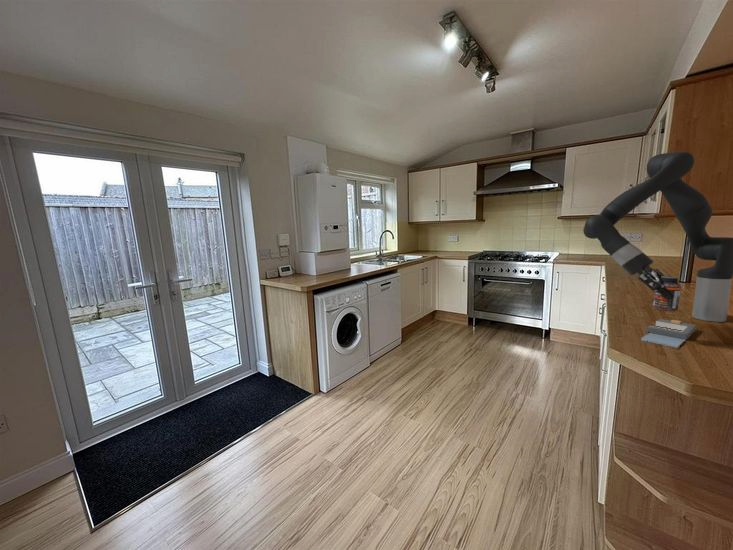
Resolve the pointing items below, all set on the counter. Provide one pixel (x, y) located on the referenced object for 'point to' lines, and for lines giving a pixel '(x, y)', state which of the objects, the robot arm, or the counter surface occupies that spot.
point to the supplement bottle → (674, 288)
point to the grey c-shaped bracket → (673, 324)
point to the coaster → (663, 340)
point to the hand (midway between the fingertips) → (674, 296)
